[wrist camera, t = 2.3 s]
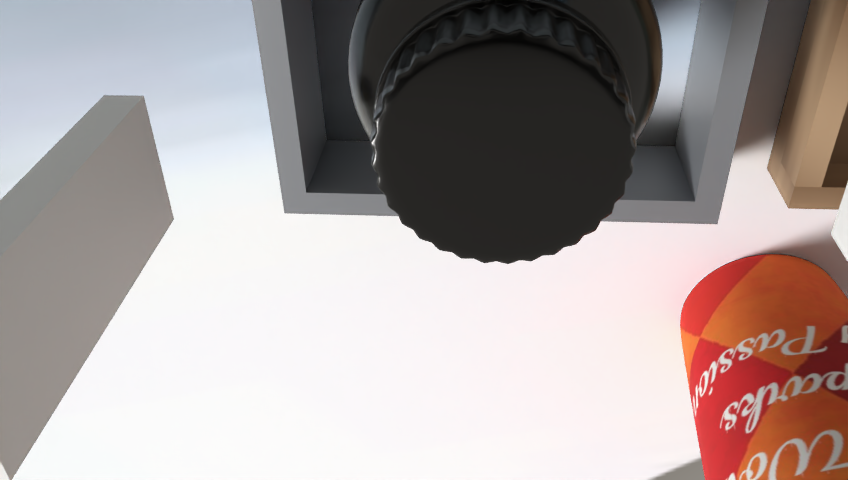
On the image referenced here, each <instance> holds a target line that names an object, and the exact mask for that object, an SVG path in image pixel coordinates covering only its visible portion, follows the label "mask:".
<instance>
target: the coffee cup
mask: <svg viewBox="0 0 848 480" xmlns="http://www.w3.org/2000/svg"><path fill="white" fill-rule="evenodd" d="M680 328H681V338H682V346H683V353H684V359H685V366H686V372H687V378H688V384H689V389H690V395H691V401H692V407H693V413H694V419H695V424H696V430H697V436H698V442H699V447H700V453H701V459H702V464H703V470H704V475H705V480H848V299H847V297H846V296H845V295H844V293H843V292H842V290H841V289H840V288H839V287H838V285H837V284H836V283H835V281H834V280H833V279H832V278H831V277H830V276H829V275H828V274H827V273H826V272H825V271H824V270H823V269H821V268H820V267H819V266H817V265H815V264H814V263H812V262H809V261H807V260H805V259H802V258H798V257H795V256H789V255H781V254H765V255H756V256H750V257H746V258H742V259H739V260H736V261H733V262H730V263H728V264H726V265H724V266H722V267H720V268H718V269H716V270H714V271H713V272H711V273H710V274H708V275H707V276H706V277H705V278H703V279H702V280H701V281H700V282H699V283H698V284H697V285H696V286H695V287H694V288H693V290H692V291H691V292H690V294H689V295H688V297H687V299H686V301H685V303H684V305H683V308H682V312H681V320H680Z"/></svg>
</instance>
